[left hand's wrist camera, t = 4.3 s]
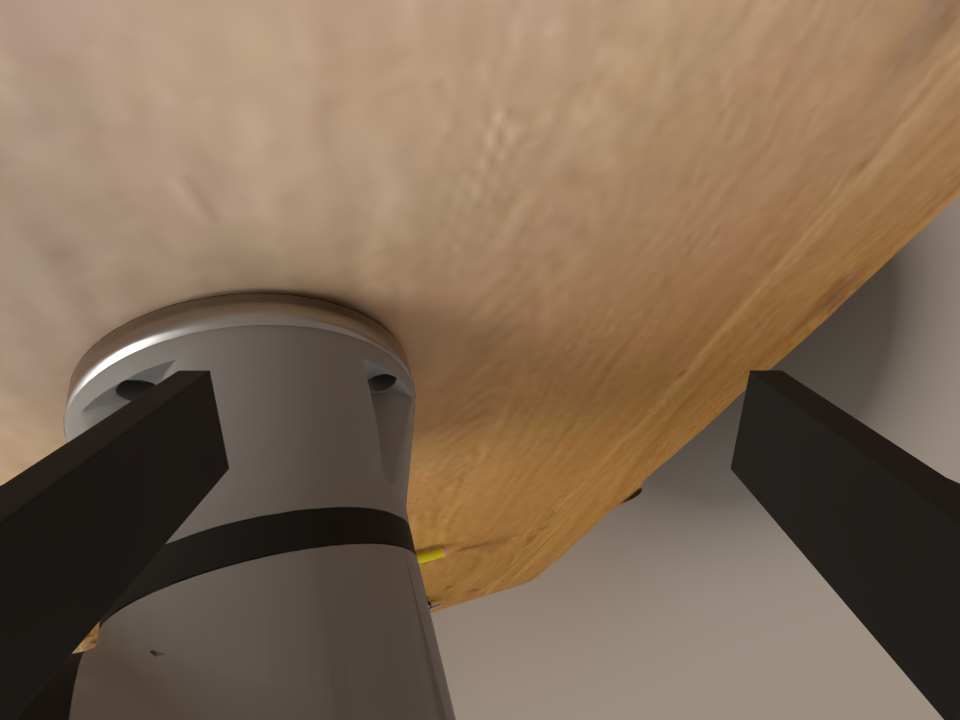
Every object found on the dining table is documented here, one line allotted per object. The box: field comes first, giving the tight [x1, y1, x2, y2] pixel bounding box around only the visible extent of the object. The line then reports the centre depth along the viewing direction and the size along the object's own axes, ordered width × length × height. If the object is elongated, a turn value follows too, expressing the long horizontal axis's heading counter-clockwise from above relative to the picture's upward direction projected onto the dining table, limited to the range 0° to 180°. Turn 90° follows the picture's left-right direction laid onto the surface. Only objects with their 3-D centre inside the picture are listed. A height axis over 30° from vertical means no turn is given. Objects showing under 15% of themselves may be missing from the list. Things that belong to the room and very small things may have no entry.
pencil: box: [416, 547, 447, 564], centre depth 56 cm, size 16×1×1 cm, turn 79°
